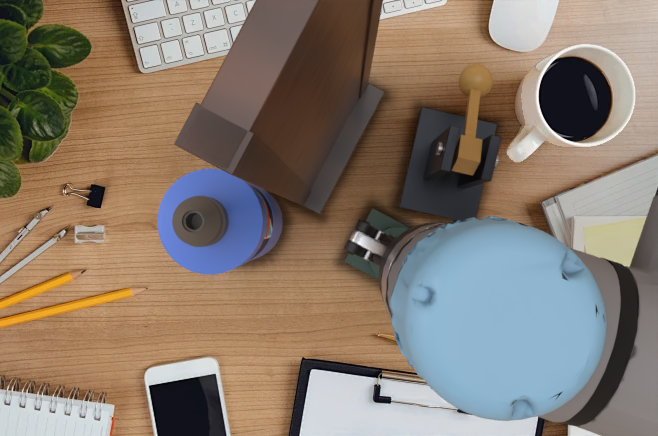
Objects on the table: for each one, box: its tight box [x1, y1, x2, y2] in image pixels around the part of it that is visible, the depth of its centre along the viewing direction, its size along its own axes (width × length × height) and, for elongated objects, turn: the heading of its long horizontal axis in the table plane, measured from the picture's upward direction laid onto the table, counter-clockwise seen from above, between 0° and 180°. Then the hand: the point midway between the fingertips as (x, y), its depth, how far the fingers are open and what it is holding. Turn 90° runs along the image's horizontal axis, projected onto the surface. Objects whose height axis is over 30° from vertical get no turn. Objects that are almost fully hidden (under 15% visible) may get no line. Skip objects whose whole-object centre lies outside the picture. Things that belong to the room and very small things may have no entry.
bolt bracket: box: [397, 106, 502, 221], centre depth 65 cm, size 12×9×14 cm
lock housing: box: [343, 207, 411, 281], centre depth 70 cm, size 10×7×4 cm
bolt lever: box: [452, 63, 494, 176], centre depth 63 cm, size 13×4×4 cm
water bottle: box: [156, 168, 284, 276], centre depth 60 cm, size 9×9×25 cm
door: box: [173, 0, 385, 215], centre depth 49 cm, size 16×7×47 cm, turn 152°
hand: (407, 261), depth 61 cm, fingers closed
